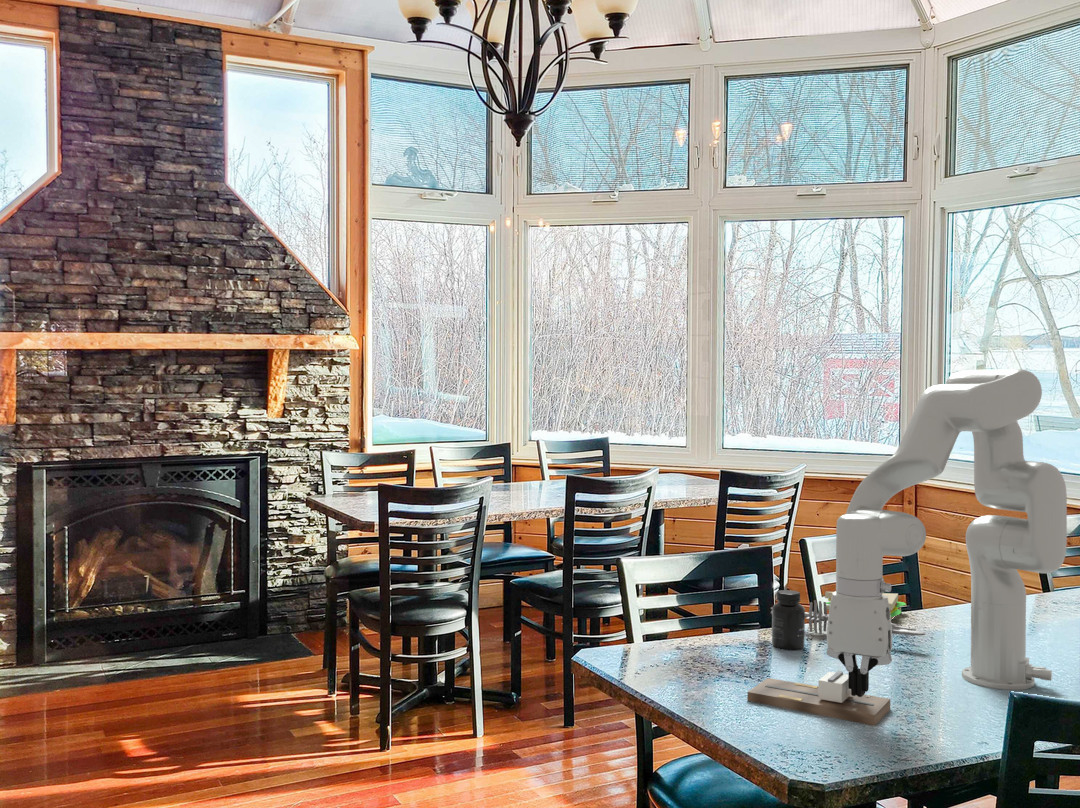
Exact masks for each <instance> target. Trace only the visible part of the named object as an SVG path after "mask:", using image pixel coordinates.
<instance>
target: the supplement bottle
mask: <svg viewBox="0 0 1080 808" xmlns="http://www.w3.org/2000/svg"><path fill="white" fill-rule="evenodd" d="M776 601H777V602H776V603H774V604H773V606H772V607H773V608H772V609H771V611H772V614H771V617H772V618H771V645H772V647H773V648H775V649H778V650H782V649H783V650H784V651H801V650H803V649H804V648H805V641H806V640H805V639H806V638H805V637H806V636H805V633H806V631H805V630H806V629H805V626H806V624H805V623H806V621H805V619H806V618H805V612H806V608H805V607H804V606H803V605H802V604H801V603H800V602H801V592H799V591H797V590H792V589H791V590H790V589H782V590H781V589H780V590H777V591H776ZM800 604H801V605H800ZM804 608H805V609H804ZM783 650H782V651H783Z"/></svg>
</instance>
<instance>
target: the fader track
mask: <svg viewBox="0 0 1080 808" xmlns="http://www.w3.org/2000/svg"><path fill="white" fill-rule="evenodd" d="M818 688H819V685H812V684H807V683H801V682H794V681H788V680H784V679H783V680H782V679H777V678H771V677H767V678H766V679H764V680H763V681H761V682H760V683H758V684H756V686H753V688H751V689H749V690H748V691H747V701H748V702H752V703H757V704H763V705H765V706H766V705H768V706H773V707H777V708H781V709H782V708H783V709H787V710H792V711H798V712H802V713H807V714H813V715H818V716H823V717H827V718H832V719H833V718H834V719H838V720H842V721H847V722H853V723H859V724H863V725H868V726H876V725H877V724H879V722H880V721H881V720H882V719H883V718H884V717H885V716H886V714H888V713H889V712H890V710H891V699H890V698H887V697H881V696H875V695H871V694H864V695H863V696H862V697H858V696H857V695H855V696H852V695H850V696H849V697H848V698H847V699H846V700H845V701H843V702H842V703H840V702H834V701H828V700H823V699H818Z"/></svg>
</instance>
